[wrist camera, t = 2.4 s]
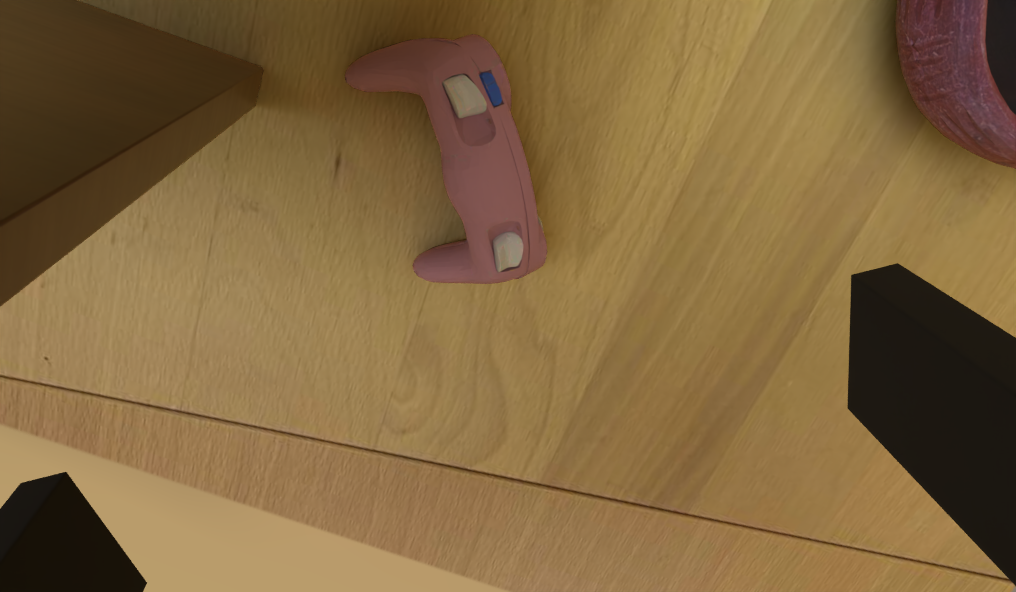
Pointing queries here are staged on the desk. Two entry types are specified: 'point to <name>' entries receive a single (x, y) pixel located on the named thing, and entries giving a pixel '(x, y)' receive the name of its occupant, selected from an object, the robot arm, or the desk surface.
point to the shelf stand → (96, 122)
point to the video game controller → (467, 154)
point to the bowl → (963, 70)
